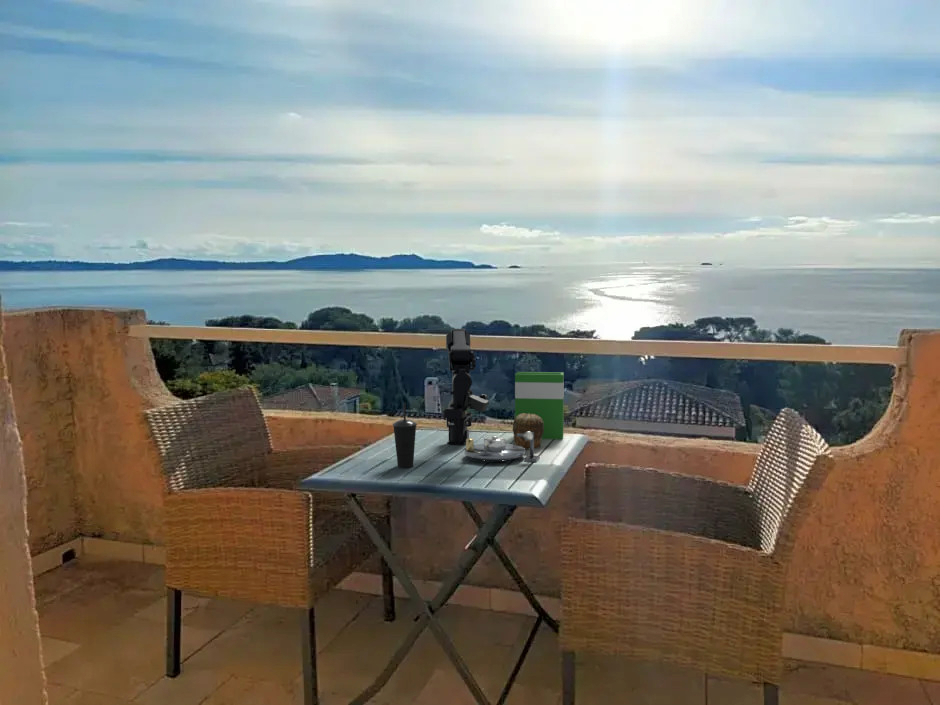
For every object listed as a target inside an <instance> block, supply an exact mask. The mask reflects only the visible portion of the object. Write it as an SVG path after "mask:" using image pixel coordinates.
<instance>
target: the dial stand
mask: <svg viewBox="0 0 940 705" xmlns="http://www.w3.org/2000/svg"><path fill="white" fill-rule="evenodd" d="M517 436H519V437H524V439H525V440H526V441H530V449H529V454H527V455H526V456H525V457H524V459H523V462H526V461H532V462H531V463H537V462H539V460H540V455H535V449H534V433H533V432H530V431H527V432H525V433H524V434H517Z"/></svg>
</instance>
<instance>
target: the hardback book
mask: <svg viewBox="0 0 940 705" xmlns="http://www.w3.org/2000/svg"><path fill="white" fill-rule="evenodd" d="M564 374H565V373H564V372H563V371H562V372H559V371H558V372H555V371H554V372H553V371H552V372H550V371H548V372H546V371H543V372H542V371H534V372H533V371H517V372H516V373H514V419H515V418H516V417H517V416H518V415H520V414H522V413H525V414H528V413H529V414H535V415H538V416H539V417H541V419H542V420H543V423H544V433H543V435H542V438H541V440H563V439H564V430H565V429H564V426H565V425H564V419H565V418H564V417H565V416H564V414H565V413H564V410H565V408H564V405H565V404H564V398H565V397H564V395H565V391H564V390H565V389H564V387H565V385H564V380H565V379H564V378H565V375H564Z"/></svg>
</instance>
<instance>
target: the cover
mask: <svg viewBox="0 0 940 705" xmlns="http://www.w3.org/2000/svg"><path fill="white" fill-rule="evenodd" d="M483 444H484V450H485V451H488V452H501V451H505V444H506V438H504V437H499V436H497V435H493V436H491V437H485V438H483Z"/></svg>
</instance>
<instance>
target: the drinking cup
mask: <svg viewBox="0 0 940 705" xmlns="http://www.w3.org/2000/svg"><path fill="white" fill-rule="evenodd" d="M402 406H403V410H402V411H403V419H399V420H397V421H395V422H393V423H392V427H393V434H394V444H395V453H396V460H397V462H396V464H397V468H399V469H410V468H413V467H414V459H415V448H416V447H415V444H416V430H417V425H418V423H417V422H415V421H413V420H410V419H407V418H406V417H407V416H406V415H407V413H406V412H407V410H406V407H407V406H406V403H403V405H402Z"/></svg>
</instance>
